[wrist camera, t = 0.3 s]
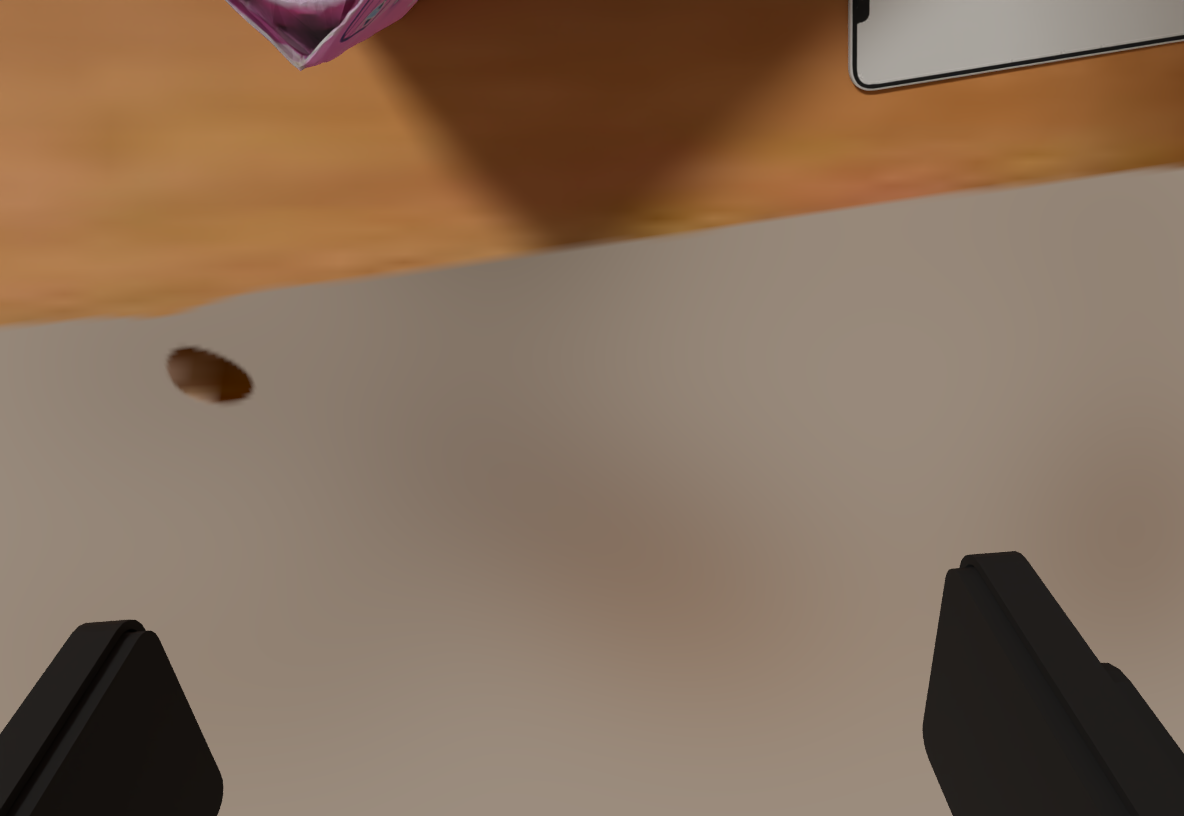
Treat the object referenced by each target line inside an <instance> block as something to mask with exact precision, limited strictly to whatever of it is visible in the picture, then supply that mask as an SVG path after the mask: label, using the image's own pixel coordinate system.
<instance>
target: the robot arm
mask: <svg viewBox="0 0 1184 816" xmlns="http://www.w3.org/2000/svg"><path fill="white" fill-rule="evenodd" d="M923 739H924V745H925V749H926V752H927V755H928V758H929V761H930V763H931V765H932V768H933V770H934V773H935V775H936V777H937V780H938V782H939V784H940V786H941V789H942V791H943V793H944V796H945V798H946V801H947V803H948V805H949V808H950V810H951V812H952V815H953V816H1184V753H1183V752H1182V751H1181V749H1180V748H1179V747H1178V745H1177V744H1176V742H1175V741H1174V740H1173V739H1172V737H1171V736H1170V735H1169V733H1168V732H1167V730H1166V729H1165V728H1164V726H1163V725H1162V723H1161V722H1160V721H1159V719H1158V718H1157V717H1156V715H1155V714H1154V713H1153V711H1152V710H1151V709H1150V707H1149V706H1148V704H1147V703H1146V702H1145V700H1144V699H1143V698H1142V696H1141V695H1140V694H1139V692H1138V691H1137V690H1136V688H1135V687H1134V686H1133V684H1132V683H1131V681H1130V680H1129V679H1128V678H1127V677H1126V676H1125V675H1124V674H1123V673H1122V672H1121V670H1120V669H1118V668H1116V667H1114V666H1113V665H1111V664H1109V663H1100V662H1099V660H1098V659H1097V657H1096V656H1095V655H1094V653H1093V652H1092V650H1091V649H1090V648H1089V646H1088V645H1087V643H1086V642H1085V641H1084V639H1083V638H1082V636H1081V635H1080V633H1079V632H1078V631H1077V629H1076V628H1075V626H1074V625H1073V624H1072V622H1071V621H1070V620H1069V618H1068V617H1067V616H1066V614H1065V612H1064V611H1063V610H1062V608H1061V607H1060V605H1059V604H1058V603H1057V601H1056V600H1055V599H1054V597H1053V596H1052V595H1051V593H1050V591H1049V590H1048V589H1047V588H1046V586H1045V584H1044V583H1043V582H1042V581H1041V579H1040V577H1039V576H1038V575H1037V573H1036V572H1035V570H1034V569H1033V568H1032V566H1031V565H1030V564H1029V562H1028V561H1027V560H1026V558H1025V557H1024V556H1023V555H1022V554H1021V553H1018V552H1016V551H1012V552H999V553H985V554H974V555H966V556H965V557H964V558H963V559H962V561H961V564H960V568H956V569H950V570H949V571H948V572H947V575H946V578H945V585H944V591H943V597H942V604H941V611H940V617H939V623H938V629H937V636H936V642H935V649H934V655H933V662H932V668H931V675H930V681H929V688H928V694H927V700H926V707H925V713H924V720H923ZM222 797H223V780H222V777H221V774H220V771H219V769H218V767H217V765H216V762H215V760H214V758H213V756H212V754H211V752H210V749H209V747H208V745H207V743H206V741H205V738H204V736H203V734H202V732H201V730H200V727H199V725H198V723H197V721H196V719H195V716H194V714H193V712H192V710H191V708H190V705H189V703H188V701H187V699H186V697H185V695H184V692H183V690H182V688H181V686H180V684H179V681H178V679H177V677H176V675H175V673H174V670H173V668H172V666H171V664H170V662H169V659H168V657H167V655H166V653H165V651H164V648H163V646H162V644H161V642H160V640H159V638H158V636H157V635H156V633H154V632H152V631H146V630H145V628H144V627H143V625H142V624H141V623H139V622H138V621H136V620H119V621H106V622H93V623H85V624H83V625H80V626H79V627H78V628H77V629H76V630H75V631H74V632H73V633H72V634H71V635H70V637H69V638H68V640H67V641H66V642H65V644H64V645H63V647H62V648H61V649H60V651H59V652H58V654H57V655H56V657H55V658H54V659H53V661H52V662H51V664H50V665H49V666H48V668H47V669H46V671H45V672H44V673H43V675H42V676H41V678H40V679H39V680H38V682H37V683H36V685H35V686H34V687H33V689H32V690H31V692H30V693H29V694H28V696H27V697H26V699H25V700H24V701H23V703H22V704H21V706H20V707H19V709H18V710H17V711H16V713H15V714H14V716H13V717H12V718H11V720H10V721H9V723H8V724H7V725H6V727H5V728H4V730H3V731H2V732H1V734H0V816H217V814H218V812H219V809H220V806H221V803H222Z"/></svg>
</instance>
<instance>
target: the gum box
mask: <svg viewBox="0 0 1184 816" xmlns="http://www.w3.org/2000/svg"><path fill="white" fill-rule="evenodd" d="M225 1H226V2H227V3H228V4H229V5H230V6H231V7H232V8H233V9H234V10H235V11H236V12H237V13H238V14H240V15H241V16H242V17H243V18H244V19H245V20H246V21H247V22H248V23H250V24H251V25H252V26H253V27H254V28H255V29H256V30H257V31H259V32H260V33H261V34H262V35H263V36H264V37H266V38H267V39H268V40H269V41H270V42H271V43H272V44H273V45H274V46H275V47H276V48H277V49H278V50H279V51H280V52H281V53H282V54H283V55H284V57H285V58H286V59H287V60H288V61H290V62H291V63H292V64H293V65H294V66H295V67H296V68H297V69H299V70H300V71H302V70H303V69H304V68H307V67H311V66H315V65H318V64H321V63H322V62H328V61H330V60H332V59H334V58H336V57H337V56H339V55H340V54H342V53H343V52H344V51H345V50H347V49H349V48H351V47H352V46H354V45H356V44H357V43H360V42H362V41H364V40H365V39H367V38H369V37H371V36H372V35H374V34H375V33H377V32H378V31H380V30H382V29H383V28H386V27H388V26H389V25H391V24H392V23H394V22H396V21H398V20H399V19H401V18H402V17H403V16H404V15H405V14H406V13H407V12H408V11H409V10H410V9H411V8H412V7H413V5H414V4H415V3H416V2H417V1H418V0H225Z"/></svg>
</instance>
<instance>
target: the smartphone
mask: <svg viewBox="0 0 1184 816" xmlns="http://www.w3.org/2000/svg"><path fill="white" fill-rule="evenodd" d="M1180 41H1184V0H848V71H849V76H850V79H851V80H852V82H853V83H854V84H855V85H856V86H857V87H859V88H860V89H863V90H867V91H873V90H881V89H887V88H894V87H900V86H906V85H912V84H918V83H926V82H933V81H939V80H945V79H950V78H958V77H964V76H970V75H976V74H981V73H987V72H993V71H1000V70H1006V69H1012V68H1018V67H1024V66H1031V65H1037V64H1043V63H1049V62H1056V61H1062V60H1068V59H1074V58H1081V57H1087V56H1093V55H1099V54H1105V53H1112V52H1118V51H1124V50H1130V49H1137V48H1143V47H1149V46H1155V45H1162V44H1168V43H1174V42H1180ZM858 84H859V85H858Z"/></svg>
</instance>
